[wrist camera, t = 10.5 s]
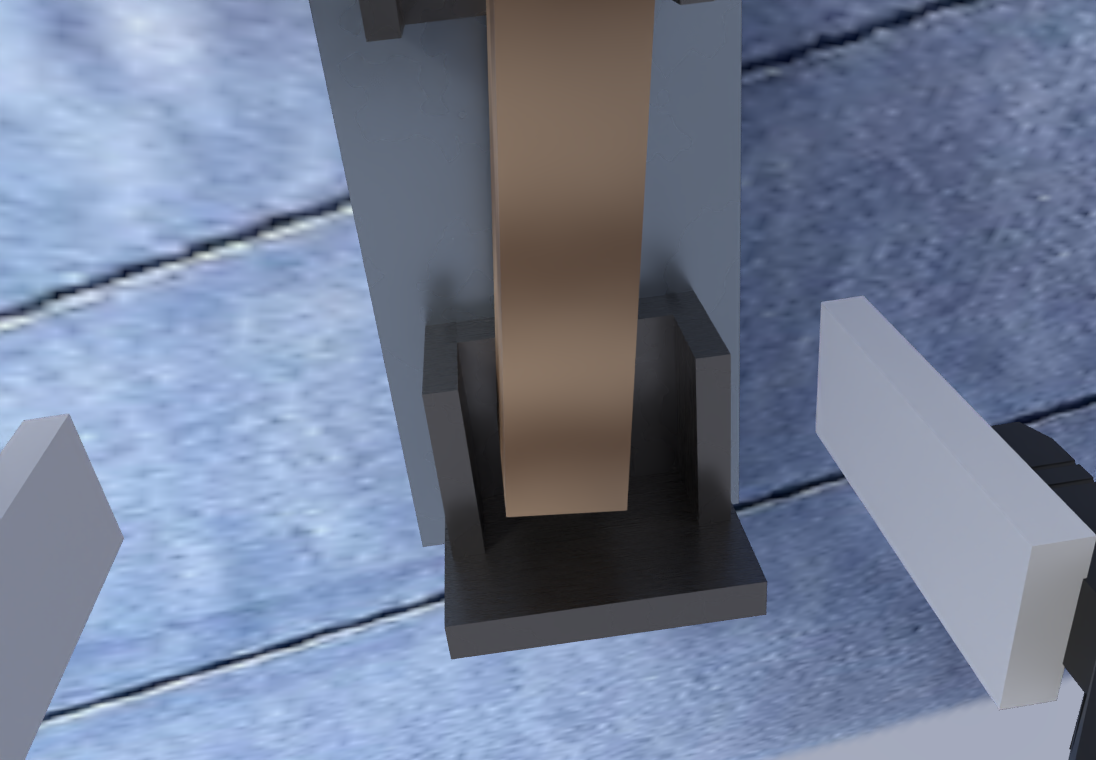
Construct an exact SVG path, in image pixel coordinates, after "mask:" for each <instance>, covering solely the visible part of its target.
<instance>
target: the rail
mask: <svg viewBox="0 0 1096 760" xmlns="http://www.w3.org/2000/svg"><path fill="white" fill-rule="evenodd" d="M654 10H655V0H486V18H487V54H488V91H489V127H490V164H491V200H492V237H493V273H494V310H495V346H496V383H497V419H498V432H499V443H500V454H501V465H502V476H503V486H504V497H505V508H506V517H519V516H537V515H554V514H572V513H590V512H608V511H626V510H627V502H628V484H629V466H630V448H631V429H632V411H633V393H634V375H635V356H636V338H637V320H638V302H639V283H640V265H641V247H642V229H643V210H644V192H645V174H646V156H647V138H648V119H649V101H650V83H651V65H652V46H653V28H654Z"/></svg>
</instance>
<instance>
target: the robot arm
mask: <svg viewBox="0 0 1096 760" xmlns="http://www.w3.org/2000/svg"><path fill="white" fill-rule="evenodd" d="M815 432H816V433H817V435H818V436H819V438H820V439H821V441H822V443H823V444H824V446H825V447H826V449H827V450H828V452H829V453H830V455H831V456H832V458H833V459H834V461H835V462H836V464H837V465H838V467H839V468H840V470H841V471H842V473H843V474H844V476H845V477H846V479H847V480H848V482H849V483H850V485H851V486H852V488H853V489H854V491H855V492H856V494H857V496H858V497H859V499H860V500H861V502H862V503H863V505H864V506H865V508H866V509H867V511H868V512H869V514H870V515H871V517H872V518H873V520H874V521H875V523H876V524H877V526H878V527H879V529H880V530H881V532H882V533H883V535H884V536H885V538H886V539H887V541H888V542H889V544H890V545H891V547H892V548H893V550H894V552H895V553H896V555H897V556H898V558H899V559H900V561H901V562H902V564H903V565H904V567H905V568H906V570H907V571H908V573H909V574H910V576H911V577H912V579H913V580H914V582H915V583H916V585H917V586H918V588H919V589H920V591H921V592H922V594H923V595H924V597H925V598H926V600H927V601H928V603H929V605H930V606H931V608H932V609H933V611H934V612H935V614H936V615H937V617H938V618H939V620H940V621H941V623H942V624H943V626H944V627H945V629H946V630H947V632H948V633H949V635H950V636H951V638H952V639H953V641H954V642H955V644H956V645H957V647H958V648H959V650H960V651H961V653H962V654H963V656H964V658H965V659H966V661H967V662H968V664H969V665H970V667H971V668H972V670H973V671H974V673H975V674H976V676H977V677H978V679H979V680H980V682H981V683H982V685H983V686H984V688H985V689H986V691H987V692H988V694H989V695H990V697H991V698H992V700H993V701H994V703H995V704H996V706H997V707H998V709H999V710H1003V709H1009V708H1015V707H1021V706H1027V705H1033V704H1039V703H1045V702H1051V701H1056V700H1057V697H1058V693H1059V689H1060V685H1061V681H1062V677H1063V673H1064V669H1065V668H1066V669H1067V671H1068V672H1069V673H1070V674H1071V676H1072V677H1073V678H1074V680H1075V681H1076V682H1077V683H1078V685H1079V686H1080V687H1081V688H1082V690H1083V691H1084V696H1083V700H1082V704H1081V708H1080V711H1079V715H1078V719H1077V722H1076V726H1075V730H1074V734H1073V737H1072V741H1071V745H1070V749H1071V751H1070V756H1069V760H1096V482H1094V480H1093V477H1092V476H1091V475H1090V474H1089V473H1088V472H1087V471H1086V470H1085V469H1084V468H1083V467H1082V466H1081V465H1080V464H1078V465H1076V464H1075V460H1074V459H1073V458H1072V457H1071V456H1070V455H1069V454H1068V453H1067V452H1066V451H1065V450H1064V449H1063V448H1062V447H1061V446H1059V445H1058V444H1057V443H1056V442H1055V441H1054V440H1053V439H1052V438H1050V437H1048V436H1046V435H1044V434H1042V433H1040V432H1038V431H1036V430H1034V429H1032V428H1030V427H1028V426H1026V425H1024V424H1022V423H1020V422H1014V423H1007V424H1001V425H994V426H990V425H989V424H988V423H987V422H986V421H985V420H984V419H983V418H982V417H981V416H980V415H979V414H978V413H977V412H976V411H975V410H974V409H973V408H972V407H971V406H970V405H969V404H968V403H967V402H966V401H965V400H964V398H963V397H962V396H961V395H960V394H959V393H958V392H957V391H956V390H955V389H954V388H953V387H952V386H951V385H950V384H949V383H948V382H947V381H946V380H945V379H944V378H943V377H942V376H941V375H940V374H939V373H938V372H937V371H936V370H935V369H934V368H933V367H932V366H931V365H930V363H929V362H928V361H927V360H926V359H925V358H924V357H923V356H922V355H921V354H920V353H919V352H918V351H917V350H916V349H915V348H914V347H913V346H912V345H911V344H910V343H909V342H908V341H907V340H906V339H905V338H904V337H903V336H902V335H901V334H900V333H899V332H898V331H897V330H896V328H895V327H894V326H893V325H892V324H891V323H890V322H889V321H888V320H887V319H886V318H885V317H884V316H883V315H882V314H881V313H880V312H879V311H878V310H877V309H876V308H875V307H874V306H873V305H872V304H871V303H870V302H869V301H868V300H867V299H866V298H865V297H864V296H858V297H851V298H844V299H838V300H831V301H824V302H821V318H820V341H819V363H818V386H817V409H816V431H815ZM123 539H124V537H123V535H122V533H121V531H120V528H119V526H118V524H117V522H116V519H115V517H114V515H113V512H112V510H111V508H110V506H109V503H108V501H107V499H106V497H105V494H104V492H103V490H102V487H101V485H100V483H99V481H98V478H97V476H96V474H95V471H94V469H93V467H92V465H91V462H90V460H89V458H88V456H87V453H86V451H85V449H84V446H83V444H82V442H81V440H80V437H79V435H78V433H77V431H76V428H75V426H74V424H73V421H72V419H71V417H70V415H69V414H63V415H57V416H50V417H43V418H36V419H30V420H24V421H23V422H22V423H21V425H20V426H19V428H18V429H17V430H16V432H15V433H14V435H13V436H12V437H11V439H10V440H9V442H8V443H7V444H6V446H5V447H4V449H3V450H2V451H1V453H0V760H25V758H26V756H27V754H28V751H29V749H30V747H31V745H32V742H33V740H34V738H35V736H36V734H37V731H38V729H39V727H40V725H41V722H42V720H43V718H44V716H45V713H46V711H47V709H48V707H49V705H50V702H51V700H52V698H53V696H54V693H55V691H56V689H57V687H58V684H59V682H60V680H61V678H62V676H63V673H64V671H65V669H66V667H67V664H68V662H69V660H70V658H71V655H72V653H73V651H74V649H75V646H76V644H77V642H78V640H79V638H80V635H81V633H82V631H83V629H84V626H85V624H86V622H87V620H88V617H89V615H90V613H91V611H92V609H93V606H94V604H95V602H96V600H97V597H98V595H99V593H100V591H101V588H102V586H103V584H104V582H105V580H106V577H107V575H108V573H109V571H110V568H111V566H112V564H113V562H114V559H115V557H116V555H117V553H118V551H119V548H120V546H121V544H122V542H123Z"/></svg>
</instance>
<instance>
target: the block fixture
mask: <svg viewBox="0 0 1096 760" xmlns="http://www.w3.org/2000/svg"><path fill="white" fill-rule="evenodd" d="M309 3H310V8H311V13H312V18H313V23H314V27H315V32H316V37H317V42H318V47H319V51H320V56H321V61H322V66H323V70H324V75H325V80H326V85H327V90H328V94H329V99H330V104H331V109H332V114H333V118H334V123H335V128H336V133H337V138H338V142H339V147H340V152H341V157H342V161H343V166H344V171H345V176H346V181H347V185H348V190H349V195H350V200H351V205H352V209H353V214H354V219H355V224H356V229H357V233H358V238H359V243H360V248H361V253H362V257H363V262H364V267H365V272H366V276H367V281H368V286H369V291H370V296H371V300H372V305H373V310H374V315H375V320H376V324H377V329H378V334H379V339H380V344H381V348H382V353H383V358H384V363H385V368H386V372H387V377H388V382H389V387H390V391H391V396H392V401H393V406H394V411H395V415H396V420H397V425H398V430H399V435H400V439H401V444H402V449H403V454H404V459H405V463H406V468H407V473H408V478H409V482H410V487H411V492H412V497H413V502H414V506H415V511H416V516H417V521H418V526H419V530H420V535H421V540H422V545H423V547H425V546H433V545H440V544H445V631H446V636H447V641H448V646H449V651H450V656H451V659H457V658H464V657H471V656H478V655H485V654H492V653H499V652H506V651H513V650H520V649H527V648H534V647H541V646H548V645H556V644H563V643H570V642H577V641H584V640H591V639H598V638H605V637H612V636H619V635H626V634H633V633H640V632H647V631H654V630H661V629H668V628H675V627H682V626H689V625H696V624H703V623H710V622H717V621H724V620H731V619H738V618H745V617H753V616H760V615H766V602H767V581H766V578H765V576H764V574H763V572H762V569H761V567H760V565H759V563H758V561H757V558H756V556H755V554H754V552H753V549H752V547H751V545H750V543H749V540H748V538H747V536H746V534H745V532H744V529H743V527H742V525H741V523H740V520H739V518H738V516H737V514H736V511H735V509H734V507H733V505H732V504H738V503H739V384H740V209H741V34H742V0H655V10H654V28H653V46H652V65H651V83H650V101H649V119H648V138H647V156H646V174H645V192H644V210H643V229H642V247H641V265H640V283H639V302H638V320H637V338H636V356H635V375H634V393H633V411H632V429H631V448H630V466H629V484H628V502H627V510H626V511H608V512H590V513H572V514H554V515H537V516H519V517H506V508H505V497H504V486H503V476H502V465H501V454H500V443H499V432H498V419H497V383H496V346H495V310H494V273H493V237H492V200H491V164H490V127H489V91H488V54H487V18H486V0H309Z"/></svg>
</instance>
